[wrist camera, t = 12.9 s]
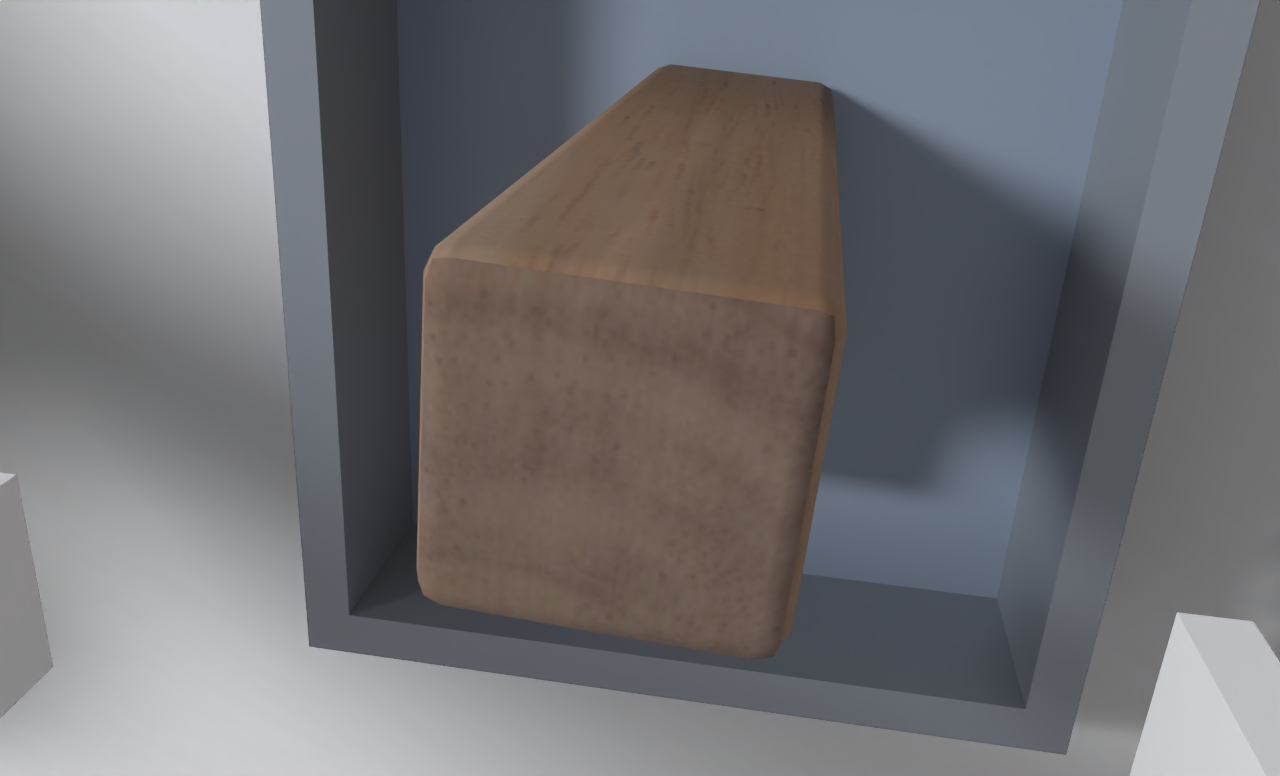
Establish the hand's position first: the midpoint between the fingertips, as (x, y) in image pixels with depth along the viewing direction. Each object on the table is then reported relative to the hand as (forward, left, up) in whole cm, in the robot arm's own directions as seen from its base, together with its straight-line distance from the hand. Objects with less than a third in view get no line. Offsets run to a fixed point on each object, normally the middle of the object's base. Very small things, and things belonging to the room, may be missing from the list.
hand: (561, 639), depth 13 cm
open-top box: (0, 0, -19) cm, 19 cm away
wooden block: (0, 0, -18) cm, 18 cm away
